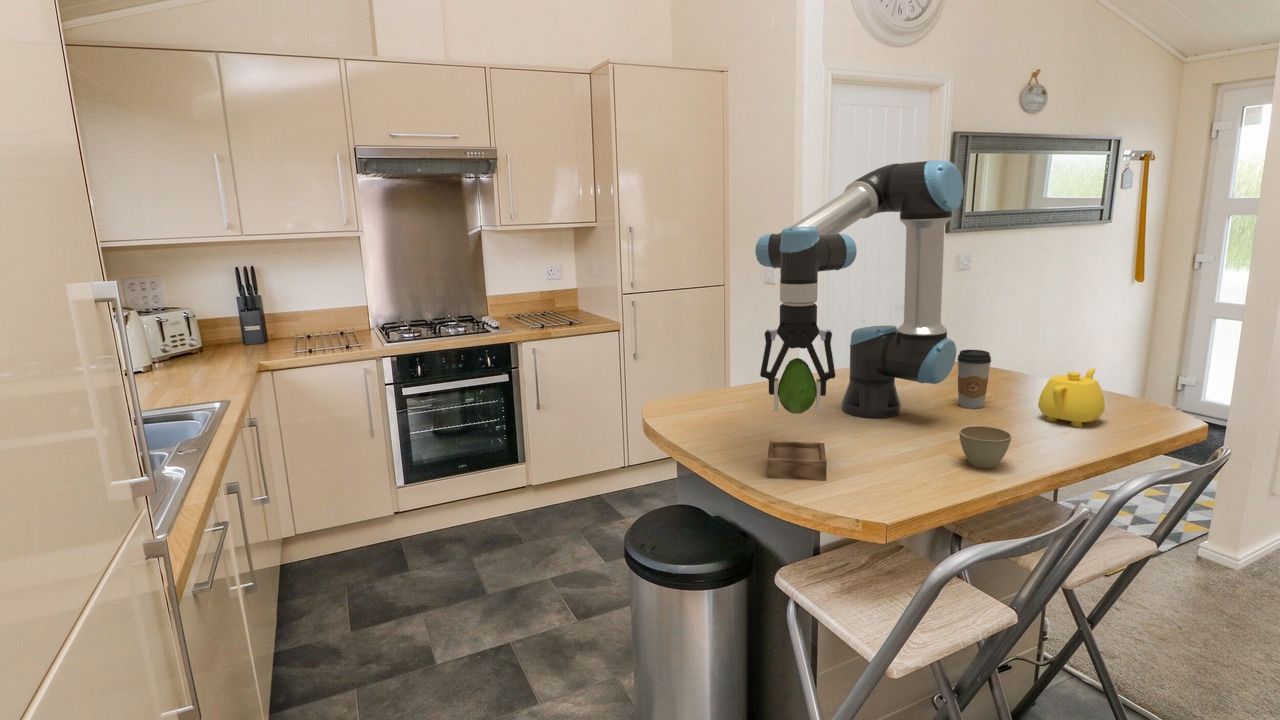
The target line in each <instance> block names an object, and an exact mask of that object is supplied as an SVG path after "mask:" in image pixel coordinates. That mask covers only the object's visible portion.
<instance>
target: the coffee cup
mask: <svg viewBox="0 0 1280 720" xmlns="http://www.w3.org/2000/svg"><path fill="white" fill-rule="evenodd" d="M990 355H991V354H990V352H989V351H986V350H982V349H962V350H960V351H959V354H958V355H957V358H956V359H957V360H956V361H957V392H958V395H957V398H958V405H959V407H962V408H965V409H971V410H977V409H978V410H979V409H981V408H983V407H984V406H985V403H986V402H985V400H986V395H987V388H988V383H989V372H990V366H991V363H992V357H991V356H990Z"/></svg>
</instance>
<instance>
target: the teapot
mask: <svg viewBox="0 0 1280 720" xmlns="http://www.w3.org/2000/svg"><path fill="white" fill-rule="evenodd" d="M1096 370H1097V369H1096V368H1094V367H1093V368H1090V369H1088V370H1087V371H1086V374H1085V375H1084V376H1081V375H1082V374H1081V373H1080V372H1076V371H1075V372H1074V371H1068V372H1067V374H1061V375H1056V376H1052V377H1051V378H1049V380H1048V381H1047V382H1046V384H1045V386H1044V387H1043V389H1042V391H1041V392H1040V395H1039V399H1038V404H1037V406H1038V408H1039V411H1040V413H1041V414H1042V415H1044V416H1047V417H1046V418H1045V421H1047V422H1051V423H1052V422H1053V423H1055V422H1057V421H1058V420H1063V421H1068V422H1069V421H1070V426H1071V427H1074V428H1083V423H1095V420H1098V419H1099V418H1100V417H1101V416H1102V415H1103V414H1104V412H1105V406H1106V405H1105V404H1106V403H1105V396H1104V392H1103V390H1102V387H1101V386H1100V384H1099V381H1098V380H1096V379H1093V378H1094V374H1095V372H1096Z"/></svg>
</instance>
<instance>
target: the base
mask: <svg viewBox="0 0 1280 720" xmlns="http://www.w3.org/2000/svg"><path fill="white" fill-rule="evenodd" d="M767 451H768V452H767V457H766V458H767V461H766V462H767V463H766V464H767V465H766V466H767V467H766V469H767V470H766V471H767V473H766V476H767V478H768V479H771V478H772V479H788V480H789V479H791V480H810V481H811V480H814V481H827V468H828V467H827V464H828V461H827V455H826V446H825V442H816V441H815V442H813V441H811V442H810V441H783V440H781V441H779V440H769V441H768V449H767Z"/></svg>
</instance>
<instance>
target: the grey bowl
mask: <svg viewBox="0 0 1280 720" xmlns="http://www.w3.org/2000/svg"><path fill="white" fill-rule="evenodd" d="M958 432H959V433H958V435H959V441H960V445H961V448H962V450H963V451H962V452H963V453H964V455H965V458H966V460H967V461H968V462H969V465H971V466H972V467H975V468H979V469H994V468H996V467H997V466H998V465H999V464H1000V463H1001V461H1002V460H1003V459H1004V457H1005V455H1006V454H1007V451H1008V450H1009V447H1010V444H1011V442H1012V441H1011V440H1012V434H1011V433H1010V432H1009V431H1007V430H1006V429H1003V428H999V427H994V426H988V425H969V426H965V427H964V426H963V427H961V428H960V429H959V431H958Z"/></svg>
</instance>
